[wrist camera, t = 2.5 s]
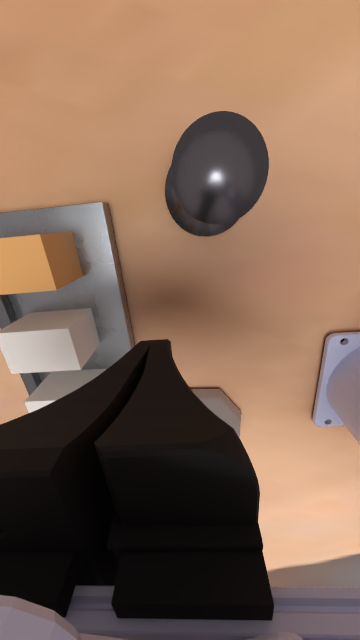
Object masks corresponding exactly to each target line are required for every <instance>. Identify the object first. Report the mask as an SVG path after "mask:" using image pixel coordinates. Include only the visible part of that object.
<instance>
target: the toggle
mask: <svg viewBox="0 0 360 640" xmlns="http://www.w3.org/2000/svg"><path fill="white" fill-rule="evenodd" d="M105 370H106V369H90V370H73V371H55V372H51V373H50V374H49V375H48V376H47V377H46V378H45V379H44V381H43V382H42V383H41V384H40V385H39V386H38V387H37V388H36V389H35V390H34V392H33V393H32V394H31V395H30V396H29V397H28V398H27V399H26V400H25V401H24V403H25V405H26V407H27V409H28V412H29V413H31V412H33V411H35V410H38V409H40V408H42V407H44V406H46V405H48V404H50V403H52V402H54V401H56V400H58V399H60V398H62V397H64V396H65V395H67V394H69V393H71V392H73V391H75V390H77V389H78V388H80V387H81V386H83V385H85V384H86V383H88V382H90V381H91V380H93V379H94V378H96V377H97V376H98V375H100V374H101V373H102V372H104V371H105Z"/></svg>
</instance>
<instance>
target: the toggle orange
mask: <svg viewBox="0 0 360 640" xmlns="http://www.w3.org/2000/svg"><path fill="white" fill-rule="evenodd" d="M81 277H83V274H82V270H81V266H80V262H79V258H78V254H77V250H76V246H75V243H74V239H73V235H72V231H69V232H59V233H48V234H38V235H28V236H18V237H8V238H0V295H6V294H18V293H30V292H42V291H54V290H58V289H60V288H62V287H64V286H66V285H68V284H70V283H71V282H73V281H75V280H77V279H79V278H81Z"/></svg>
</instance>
